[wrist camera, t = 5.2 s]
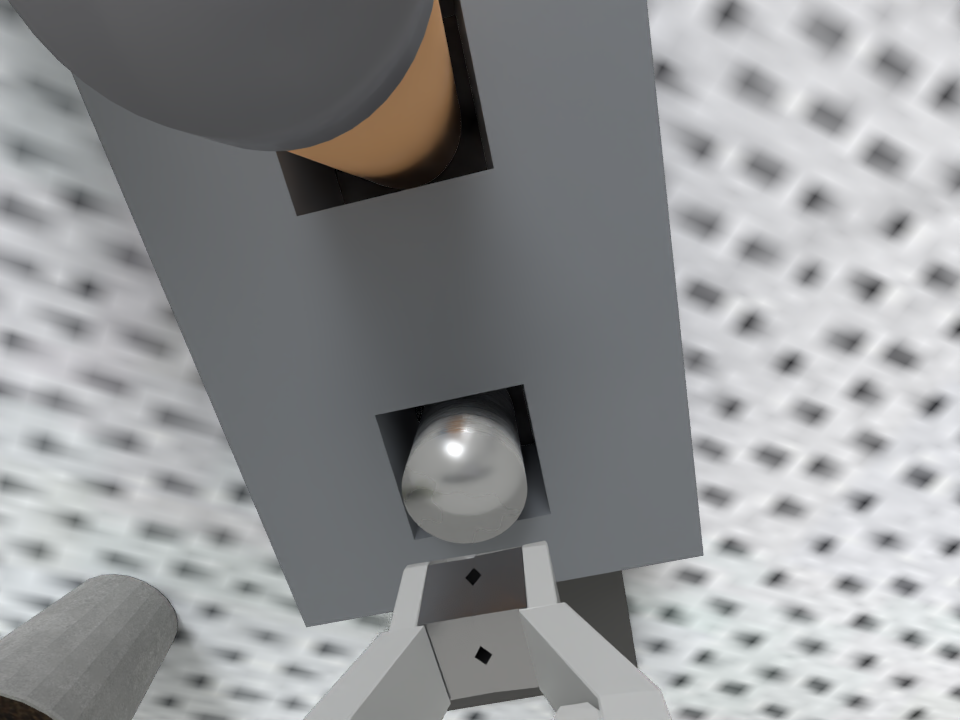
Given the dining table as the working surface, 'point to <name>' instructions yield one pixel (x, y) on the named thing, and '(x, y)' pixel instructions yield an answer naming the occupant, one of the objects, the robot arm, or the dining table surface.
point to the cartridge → (274, 75)
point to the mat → (598, 607)
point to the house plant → (87, 653)
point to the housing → (441, 310)
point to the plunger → (466, 468)
